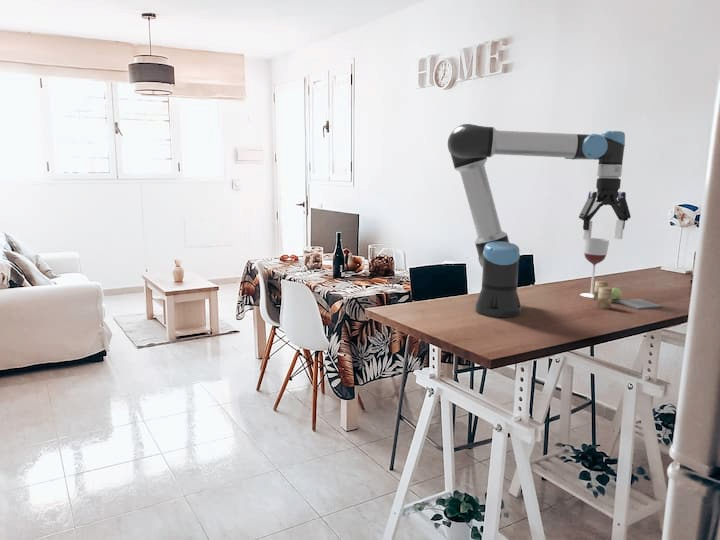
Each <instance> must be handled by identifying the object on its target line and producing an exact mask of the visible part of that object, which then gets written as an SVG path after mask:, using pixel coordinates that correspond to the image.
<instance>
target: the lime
mask: <svg viewBox="0 0 720 540" xmlns="http://www.w3.org/2000/svg"><path fill="white" fill-rule="evenodd" d="M611 288H612V297H611V300H612V301H613V300H614V301H616V300H620V299H621V297H622V296H623V293H622V290H621V289H620V288H618V287H611Z"/></svg>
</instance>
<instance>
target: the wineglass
mask: <svg viewBox="0 0 720 540" xmlns="http://www.w3.org/2000/svg"><path fill="white" fill-rule="evenodd" d="M609 245H610V240H609V239H606V238H597V237H596V238H595V237H593V238H592V237H591V240H586V239H583V255H584V258H585V259H586V260H587V261H588V262H589V263H591V264H592V272H591V282H590V292H584V293H580V294H579V296H581V297H585V298H591V299H594V293H593V292H594V285H595V272H596V265H597V264H600V263H601V262H603V261H604V260H605V259H606V257H607V254H608V249H609Z"/></svg>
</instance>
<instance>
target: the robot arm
mask: <svg viewBox="0 0 720 540" xmlns="http://www.w3.org/2000/svg"><path fill="white" fill-rule="evenodd" d="M625 146H626V134H625V132H624V131H620V130H605V131H602V132H601V134H598V133H592V134H584V133H583V134H582V133H578V134H577V133H559V132H557V133H556V132H539V131H538V132H537V131H535V132H534V131H518V130H517V131H514V130H497V129H496V128H495V127H494V126H484V125H477V124H472V123H471V124H470V123H463V124H460V125H459V126H457V127H455V128H454V129H453V130H452V132H451V133H450V135H449V136H448V139H447V148H448V152H449V153H450V157H451V160H452V164H453V167H454V169H455V170H456V171H457V172H459V173H460V176H461V180H462V185H463V188H464V192H465V195H466V199H467V202H468V205H469V210H470V212H471V217H472V220H473V224H474V227H475V228H474V229H475V232H476V234H477V238H476V240H475V241H474V244H475V248H476V252H477V255H478V256H477V257H478V262H479V264H480V266H481V268H482V278H481V281H482V282H481V290H480V291H479V294H478V297H477V300H476V302H475V307H474V308H475V309H474V310H475V312H476V313H478V314H481V315H483V316H487V317H494V318H496V317H497V318H515V317H517V316H520V315H521V314H522V313H521V312H522V306H521V302H520V298H519V294H518V282H519V281H518V279H519V278H518V277H519V265H520V257H521V253H520V248H519V247H520V246H518V245H517V244H515V243H511V242H510V240H509V236H508V233H506V232H505V231H503V230H502V228H501V227H502V226H501V223H500V220H499V216H498V212H497V208H496V204H495V201H494V197H493V193H492V189H491V186H490V183H489V177H488V174H487V171H486V167H485V165H486V162H487V161H488V158H492V157H493V156H494V155H502V156H506V155H508V156H523V157H524V156H525V157H526V156H527V157H546V158H547V157H548V158H549V157H550V158H564V159H566V160H598V166H597V174H596V176H597V179H596V187H595V188H596V189H597V190H596V191H589V192H588V196H587V199H586V201H585V203H584V205H583V207H582V209H581V212H580V213H579V216H578V218H579V219H580V220H582V221H583V225H582V226H583V227H582V229H583V240H584V239H586V240H591V238H592V230H593V229H592V228H593V220H592V218H593V217H594V216H595V215H597V213H598V211H599V210H600V208H601V207H603V206H610V207H611V209H612V210H613V211H614V214H615V215H616V217H617V218H618V219H616V222H615V228H614V229H615V230H614V239H616V240H617V239H618V240H622V239H623V233H624V232H623V231H624V230H625V225H626V221H628V220H629V219H631V216H632V215H631V213H630V209H629V205H628V202H627V198H626V195H627V194H626V192H625V191H619V190H620V188H621V182H622V180H621V177H622V171H623V160H624V153H625Z"/></svg>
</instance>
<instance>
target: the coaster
mask: <svg viewBox="0 0 720 540" xmlns="http://www.w3.org/2000/svg"><path fill="white" fill-rule="evenodd" d="M614 302H615V303H616V304H620V305H623V306H626V307H630V308H632V309H636V310H646V309H659V308H661V309H662V307H663V305H661V304H658V303H654V302H651V301H649V300H648V301H647V300H644V299H640V298H634V299H633V298H632V299H617V300H614Z"/></svg>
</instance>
